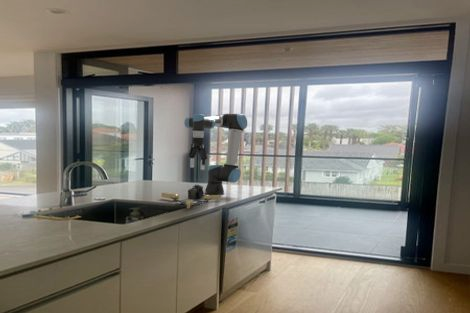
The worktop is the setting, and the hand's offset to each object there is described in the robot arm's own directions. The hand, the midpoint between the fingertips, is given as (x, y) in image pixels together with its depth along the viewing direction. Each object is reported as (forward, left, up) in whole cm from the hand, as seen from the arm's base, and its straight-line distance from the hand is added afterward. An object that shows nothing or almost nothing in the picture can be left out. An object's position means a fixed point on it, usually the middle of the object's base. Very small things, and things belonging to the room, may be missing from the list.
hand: (197, 168), depth 244 cm
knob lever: (+3, -20, -23) cm, 31 cm away
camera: (-15, -10, -24) cm, 30 cm away
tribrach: (+3, -3, -24) cm, 24 cm away
